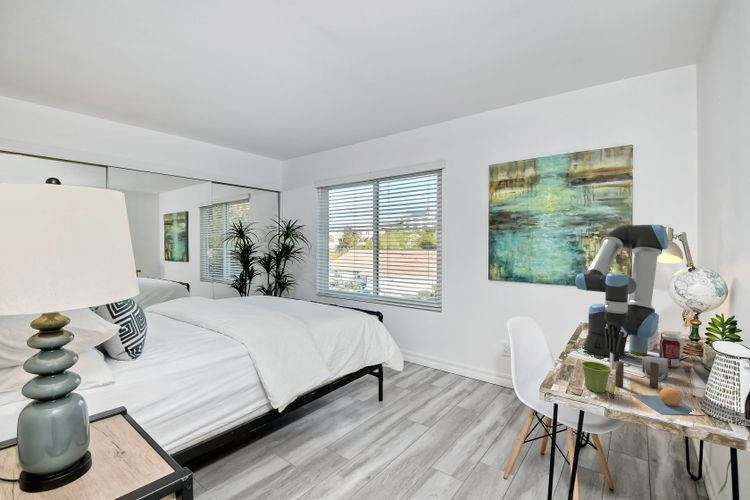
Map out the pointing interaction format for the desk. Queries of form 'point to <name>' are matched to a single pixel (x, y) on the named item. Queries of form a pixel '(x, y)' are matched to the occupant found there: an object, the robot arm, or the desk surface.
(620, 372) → the post
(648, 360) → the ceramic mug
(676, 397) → the orange round fruit
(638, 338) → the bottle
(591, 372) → the plant pot
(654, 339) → the ink cartridge box
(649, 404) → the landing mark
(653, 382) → the post
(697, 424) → the desk surface
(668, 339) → the red labelled jar
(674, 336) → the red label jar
